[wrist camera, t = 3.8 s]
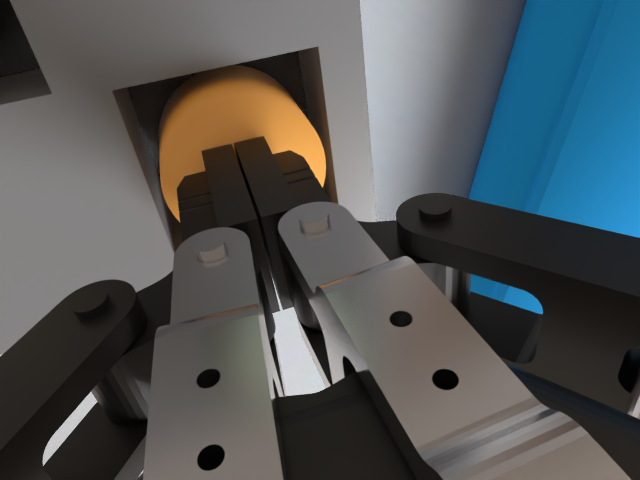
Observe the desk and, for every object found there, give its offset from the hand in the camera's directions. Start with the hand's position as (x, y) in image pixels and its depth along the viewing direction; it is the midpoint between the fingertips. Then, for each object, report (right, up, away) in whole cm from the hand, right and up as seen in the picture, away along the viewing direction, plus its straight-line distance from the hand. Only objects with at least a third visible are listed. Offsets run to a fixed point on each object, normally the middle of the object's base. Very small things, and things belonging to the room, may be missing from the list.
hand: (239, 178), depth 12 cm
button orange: (0, +1, +2) cm, 3 cm away
